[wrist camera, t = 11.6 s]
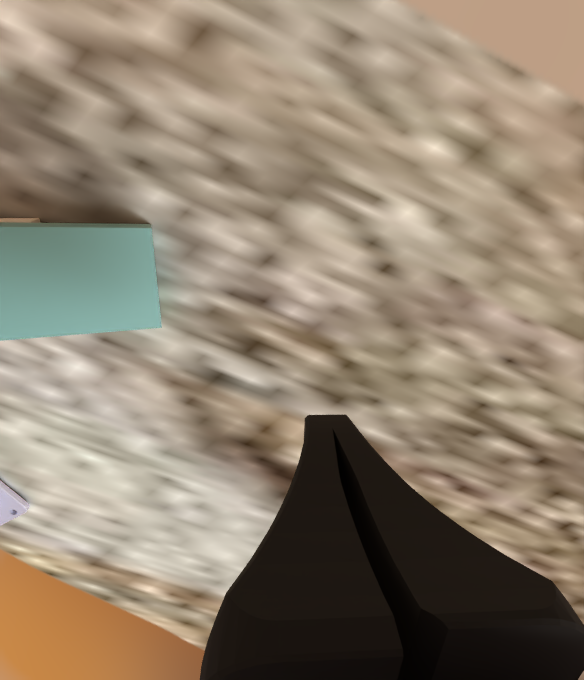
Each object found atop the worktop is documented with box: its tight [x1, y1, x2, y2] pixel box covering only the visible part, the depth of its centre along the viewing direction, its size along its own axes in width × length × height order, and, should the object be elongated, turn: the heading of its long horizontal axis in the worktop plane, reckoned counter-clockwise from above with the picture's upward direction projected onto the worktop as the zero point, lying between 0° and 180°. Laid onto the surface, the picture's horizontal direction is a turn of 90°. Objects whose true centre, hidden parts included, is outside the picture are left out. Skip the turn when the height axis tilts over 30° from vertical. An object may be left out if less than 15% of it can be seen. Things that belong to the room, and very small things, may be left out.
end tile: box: [0, 222, 162, 341], centre depth 17 cm, size 2×5×8 cm
